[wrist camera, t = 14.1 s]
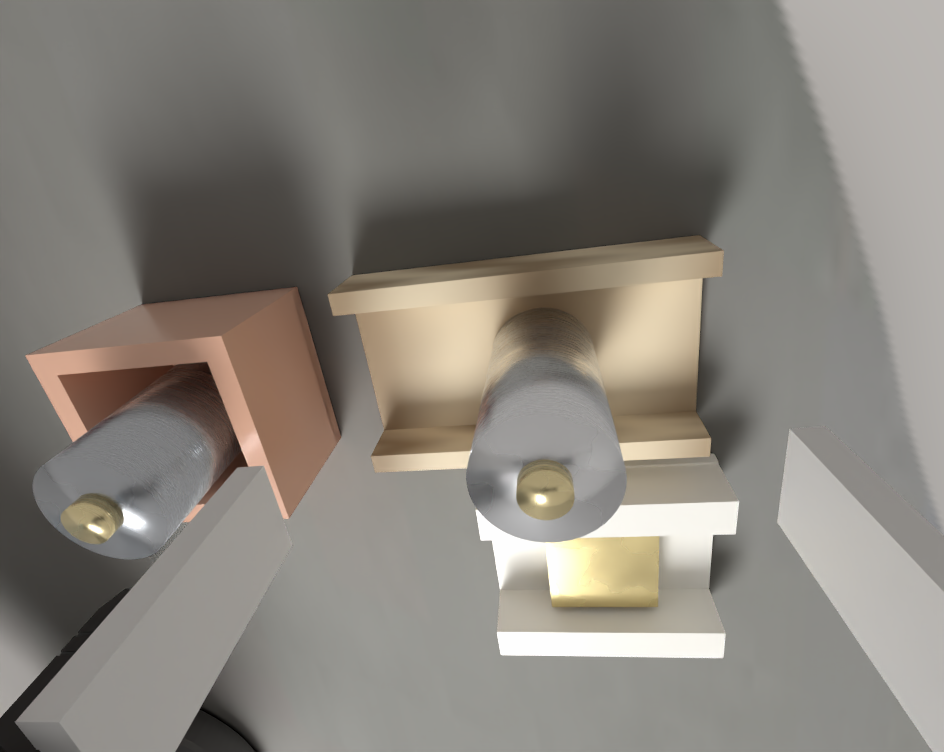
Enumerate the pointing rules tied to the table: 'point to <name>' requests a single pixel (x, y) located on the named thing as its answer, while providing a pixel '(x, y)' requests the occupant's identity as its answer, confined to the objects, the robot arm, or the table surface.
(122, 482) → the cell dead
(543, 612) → the cradle
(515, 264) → the trough
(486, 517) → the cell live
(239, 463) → the square hollow tube
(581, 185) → the table surface
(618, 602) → the tan flat square block
